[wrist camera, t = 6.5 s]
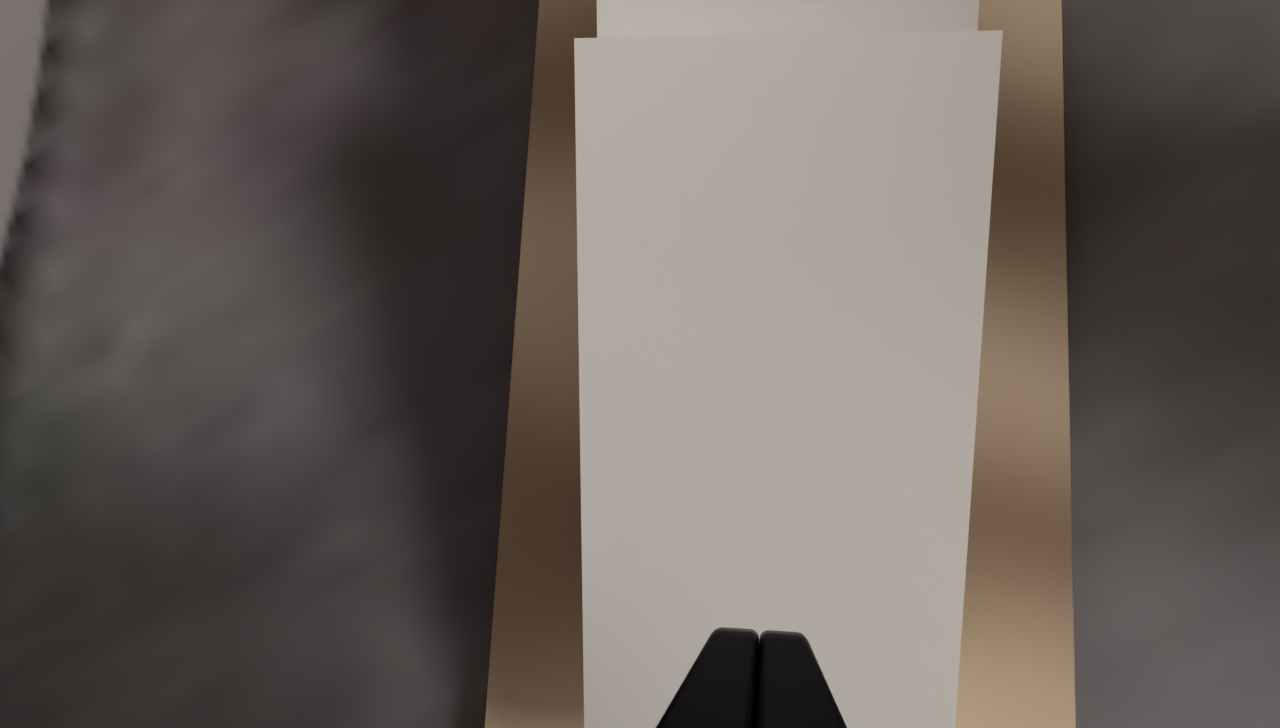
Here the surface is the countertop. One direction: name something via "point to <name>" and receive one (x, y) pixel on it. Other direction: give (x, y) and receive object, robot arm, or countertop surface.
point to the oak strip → (1005, 423)
